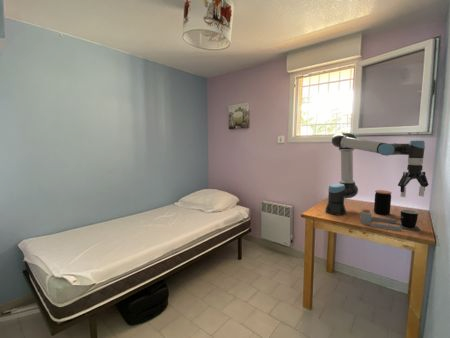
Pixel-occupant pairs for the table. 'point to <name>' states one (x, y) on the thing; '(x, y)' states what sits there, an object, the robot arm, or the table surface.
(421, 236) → the table surface
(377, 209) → the coffee jar
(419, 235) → the table surface
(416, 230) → the pad
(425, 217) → the table surface
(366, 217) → the housing
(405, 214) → the mug
